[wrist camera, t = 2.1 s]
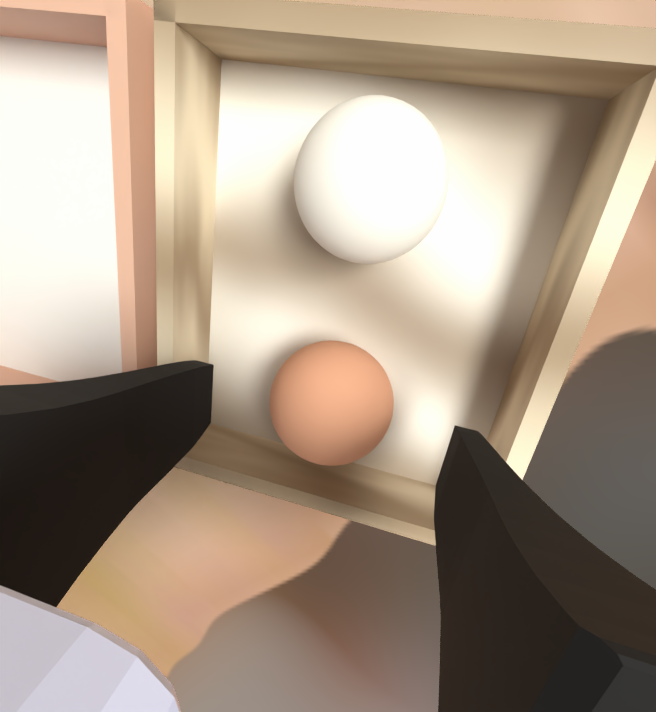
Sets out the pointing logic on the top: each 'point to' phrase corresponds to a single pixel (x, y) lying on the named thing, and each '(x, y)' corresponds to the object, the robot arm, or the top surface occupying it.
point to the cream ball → (371, 179)
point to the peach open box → (76, 190)
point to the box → (413, 269)
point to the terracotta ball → (331, 403)
